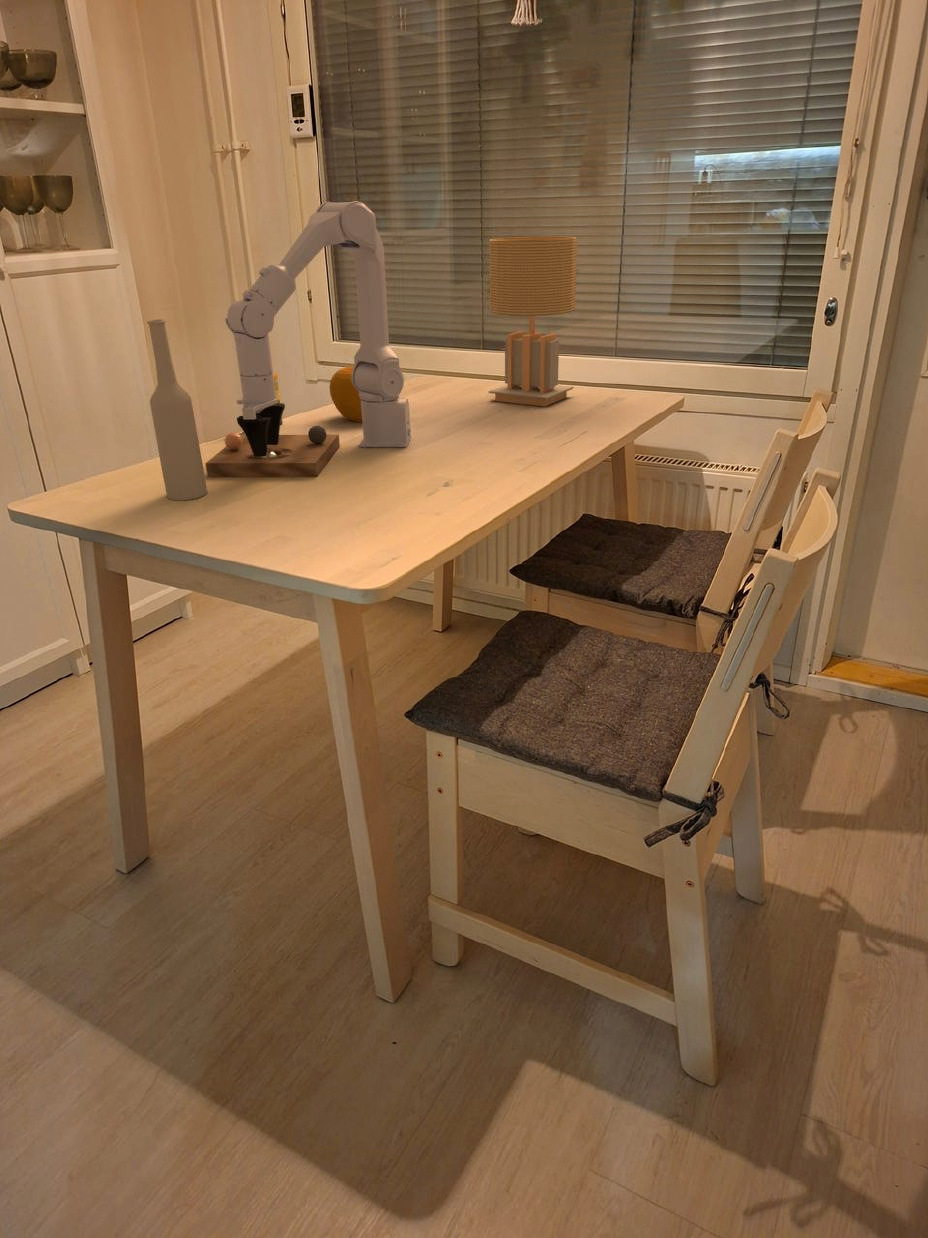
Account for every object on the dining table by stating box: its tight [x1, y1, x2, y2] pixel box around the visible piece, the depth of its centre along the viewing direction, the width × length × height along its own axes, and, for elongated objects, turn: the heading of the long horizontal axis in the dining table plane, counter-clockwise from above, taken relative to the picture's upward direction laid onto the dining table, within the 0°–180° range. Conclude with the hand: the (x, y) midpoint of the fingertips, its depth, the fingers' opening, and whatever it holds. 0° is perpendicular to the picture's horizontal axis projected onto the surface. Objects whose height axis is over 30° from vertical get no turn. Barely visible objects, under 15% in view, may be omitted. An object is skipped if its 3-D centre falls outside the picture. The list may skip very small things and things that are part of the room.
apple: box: [329, 365, 362, 423], centre depth 186 cm, size 13×13×11 cm
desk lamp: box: [488, 236, 578, 407], centre depth 195 cm, size 20×20×35 cm
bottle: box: [146, 318, 208, 502], centre depth 136 cm, size 7×7×28 cm
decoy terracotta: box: [224, 432, 243, 450], centre depth 157 cm, size 3×3×3 cm
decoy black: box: [307, 425, 327, 444], centre depth 159 cm, size 3×3×3 cm
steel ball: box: [261, 451, 277, 457], centre depth 154 cm, size 3×3×3 cm
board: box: [204, 433, 341, 478], centre depth 159 cm, size 20×20×2 cm
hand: (266, 450), depth 153 cm, fingers open, 7 cm apart
